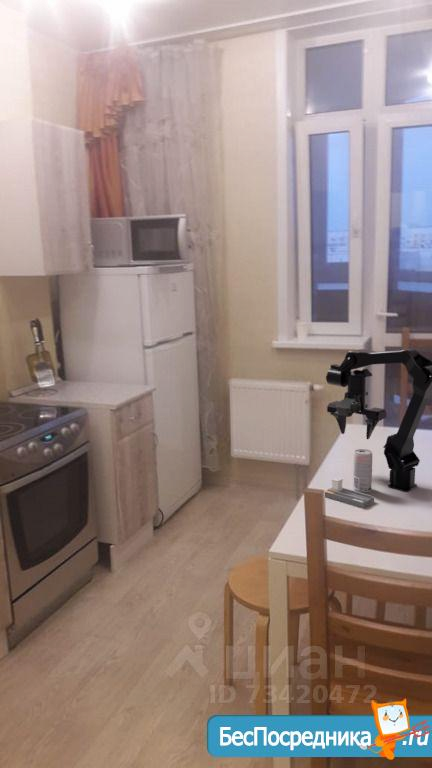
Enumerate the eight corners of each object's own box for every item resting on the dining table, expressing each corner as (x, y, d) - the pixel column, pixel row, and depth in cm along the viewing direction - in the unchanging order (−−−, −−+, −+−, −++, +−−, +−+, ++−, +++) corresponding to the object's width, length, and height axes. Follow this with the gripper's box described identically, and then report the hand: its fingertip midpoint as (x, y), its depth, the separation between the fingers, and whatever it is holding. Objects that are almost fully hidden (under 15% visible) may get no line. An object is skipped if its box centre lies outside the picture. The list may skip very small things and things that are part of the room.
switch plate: (374, 501, 175) (374, 494, 174) (363, 508, 171) (363, 501, 170) (335, 490, 184) (335, 484, 183) (324, 496, 179) (324, 489, 179)
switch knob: (342, 490, 180) (342, 479, 179) (337, 492, 178) (337, 481, 177) (336, 488, 181) (336, 477, 180) (331, 490, 179) (331, 479, 179)
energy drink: (368, 486, 187) (369, 448, 184) (373, 492, 181) (374, 454, 179) (351, 486, 187) (352, 449, 184) (355, 493, 181) (356, 454, 179)
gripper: (317, 389, 194) (316, 436, 198) (369, 397, 182) (368, 447, 185) (336, 383, 202) (335, 429, 205) (388, 391, 189) (386, 439, 193)
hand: (355, 436), depth 197 cm, fingers open, 9 cm apart
